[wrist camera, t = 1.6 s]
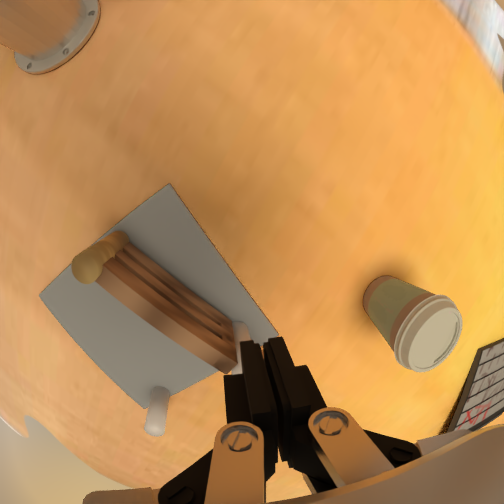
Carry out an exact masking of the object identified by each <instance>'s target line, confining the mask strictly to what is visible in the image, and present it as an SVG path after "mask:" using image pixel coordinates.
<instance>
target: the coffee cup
mask: <svg viewBox="0 0 504 504" xmlns="http://www.w3.org/2000/svg"><path fill="white" fill-rule="evenodd" d="M363 306H364V309H365V311H366V313H367V314H368V316H369V317H370V318H371V320H372V321H373V323H374V324H375V325H376V327H377V328H378V330H379V331H380V333H381V334H382V335H383V337H384V338H385V340H386V341H387V343H388V344H389V345H390V347H391V348H392V350H393V351H394V354H395V358H396V360H397V362H398V363H399V364H400V365H402V366H404V367H405V368H407V369H411V370H414V371H416V372H426V371H429V370H431V369H433V368H435V367H436V366H438V365H439V364H441V363H442V362H443V361H444V360H445V359H446V358H447V357H448V356H449V354H450V353H451V352H452V350H453V349H454V347H455V346H456V344H457V342H458V339H459V337H460V334H461V330H462V317H461V314H460V312H459V311H458V309H457V307H456V305H455V304H454V302H453V301H452V300H451V299H450V298H449V297H447V296H445V295H435V294H433V293H431V292H428V291H426V290H423V289H421V288H419V287H416V286H414V285H411V284H409V283H406V282H404V281H402V280H399V279H397V278H394V277H392V276H382V277H379V278H377V279H376V280H374V281H373V282H372V283H371V284H370V285H369V287H368V288H367V290H366V292H365V294H364V298H363Z"/></svg>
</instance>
